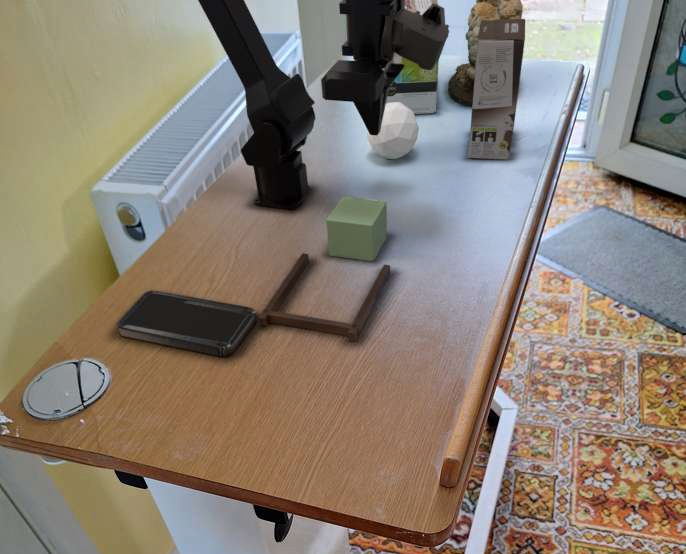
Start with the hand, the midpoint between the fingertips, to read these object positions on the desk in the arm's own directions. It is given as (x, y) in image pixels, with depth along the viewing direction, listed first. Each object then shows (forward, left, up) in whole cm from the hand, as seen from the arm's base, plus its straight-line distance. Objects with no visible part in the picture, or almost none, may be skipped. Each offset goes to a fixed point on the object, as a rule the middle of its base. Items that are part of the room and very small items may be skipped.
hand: (374, 134), depth 84 cm
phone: (-14, -29, -11) cm, 34 cm away
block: (0, -8, -11) cm, 14 cm away
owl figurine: (+5, +47, -11) cm, 49 cm away
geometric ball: (-3, +18, -11) cm, 21 cm away
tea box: (-7, +40, -11) cm, 42 cm away
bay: (0, -20, -11) cm, 23 cm away
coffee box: (+11, +24, -11) cm, 29 cm away
